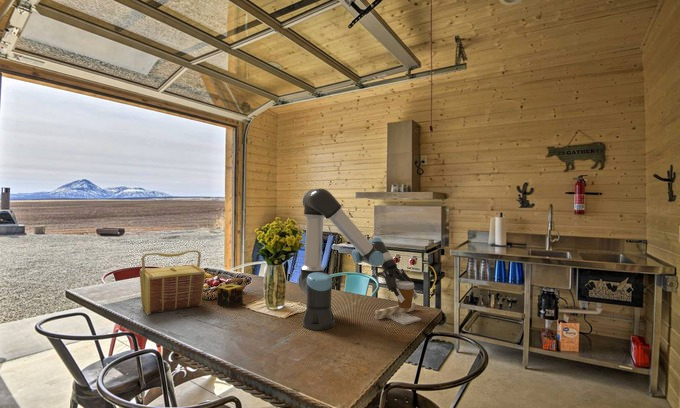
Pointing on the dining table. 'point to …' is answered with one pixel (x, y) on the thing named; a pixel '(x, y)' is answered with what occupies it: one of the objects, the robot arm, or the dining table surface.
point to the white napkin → (404, 318)
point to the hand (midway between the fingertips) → (409, 299)
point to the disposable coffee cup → (405, 293)
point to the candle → (229, 295)
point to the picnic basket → (171, 285)
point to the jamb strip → (392, 311)
